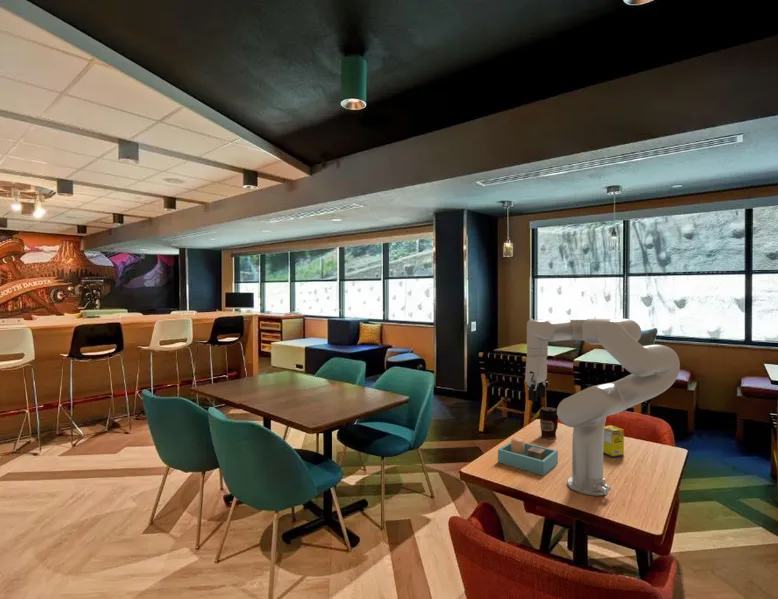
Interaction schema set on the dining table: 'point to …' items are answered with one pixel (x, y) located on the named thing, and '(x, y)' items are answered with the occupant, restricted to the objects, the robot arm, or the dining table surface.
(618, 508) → the dining table surface
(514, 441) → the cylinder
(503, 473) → the dining table surface
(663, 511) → the dining table surface
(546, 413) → the coffee cup
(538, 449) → the cube
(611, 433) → the supplement box
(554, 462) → the tote
